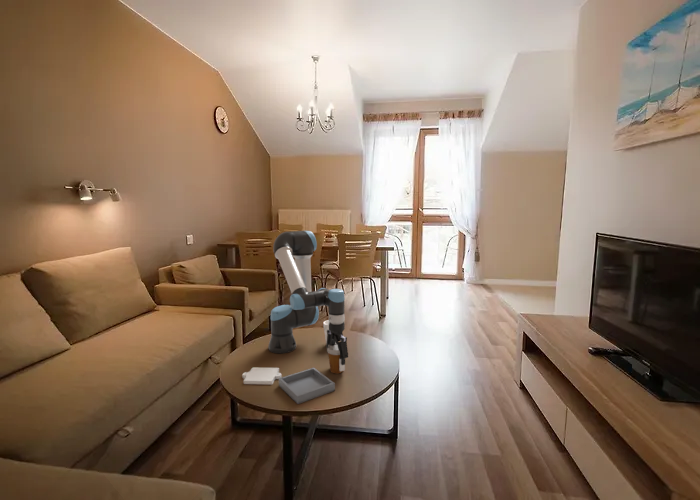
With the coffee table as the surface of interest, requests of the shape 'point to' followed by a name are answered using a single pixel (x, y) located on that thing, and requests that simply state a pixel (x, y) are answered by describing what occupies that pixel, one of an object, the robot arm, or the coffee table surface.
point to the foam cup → (326, 328)
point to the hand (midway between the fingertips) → (336, 366)
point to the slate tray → (306, 385)
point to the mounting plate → (261, 375)
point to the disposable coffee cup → (334, 358)
